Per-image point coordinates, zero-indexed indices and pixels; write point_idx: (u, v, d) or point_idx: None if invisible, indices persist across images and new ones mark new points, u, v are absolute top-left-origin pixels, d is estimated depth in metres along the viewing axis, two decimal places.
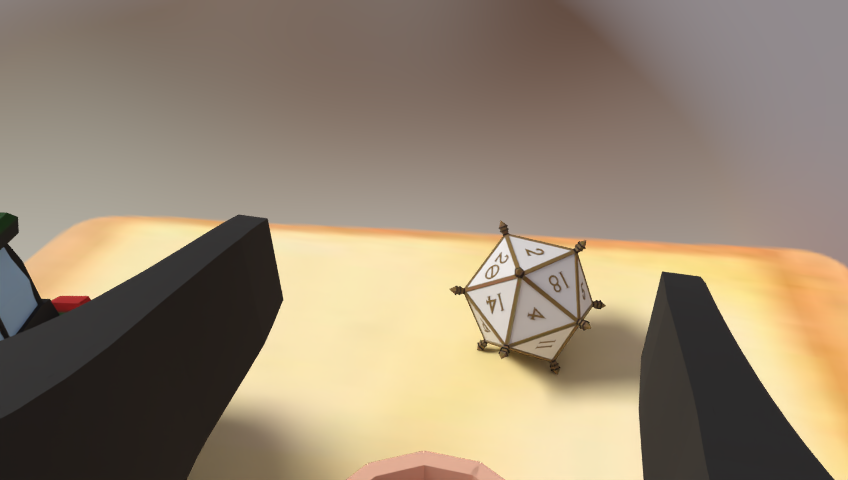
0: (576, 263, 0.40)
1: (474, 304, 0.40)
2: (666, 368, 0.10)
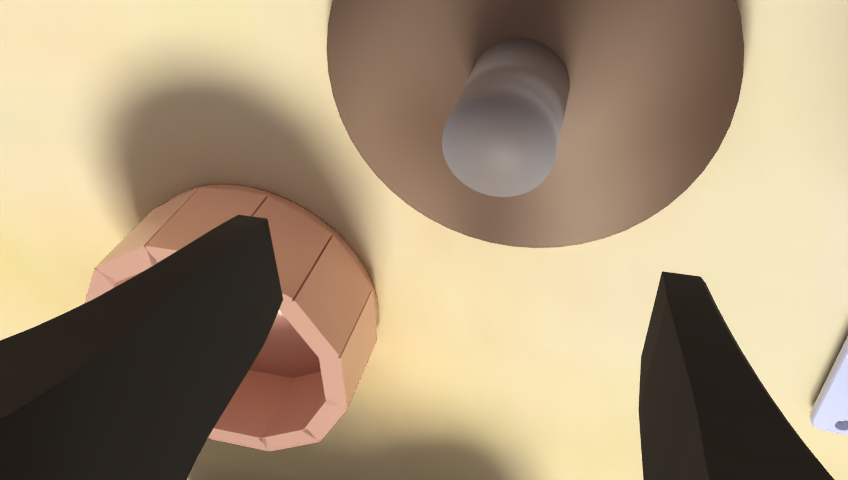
0: None
1: None
2: (667, 368, 0.10)
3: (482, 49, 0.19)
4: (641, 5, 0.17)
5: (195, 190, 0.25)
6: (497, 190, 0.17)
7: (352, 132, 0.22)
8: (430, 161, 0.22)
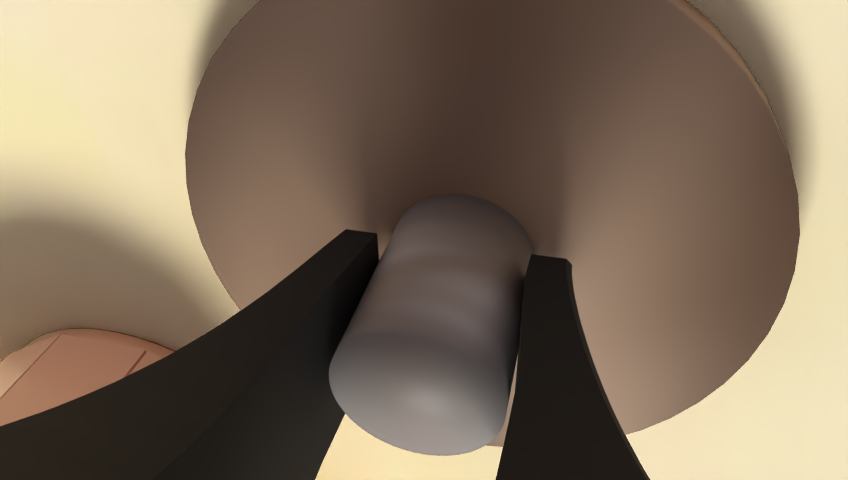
0: None
1: None
2: (519, 344, 0.10)
3: (401, 210, 0.13)
4: (629, 143, 0.11)
5: (54, 339, 0.19)
6: (426, 447, 0.11)
7: None
8: None
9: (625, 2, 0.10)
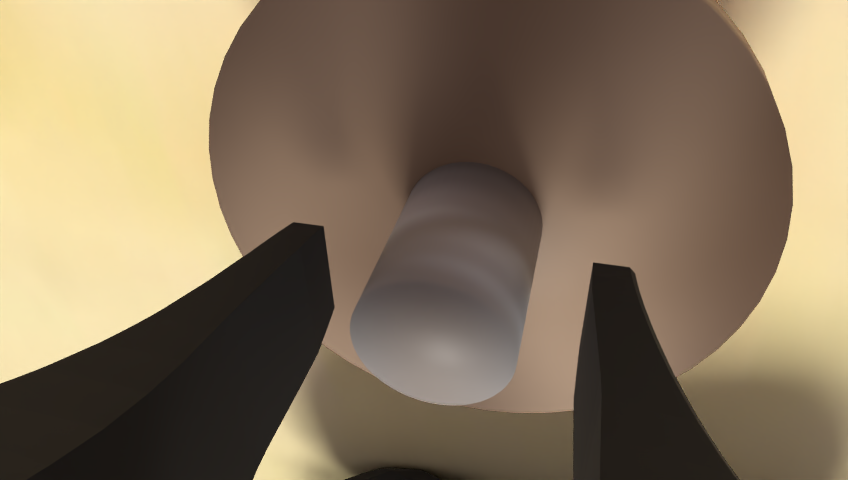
0: None
1: None
2: (588, 356, 0.10)
3: (417, 177, 0.14)
4: (636, 115, 0.12)
5: None
6: (439, 397, 0.12)
7: None
8: None
9: None
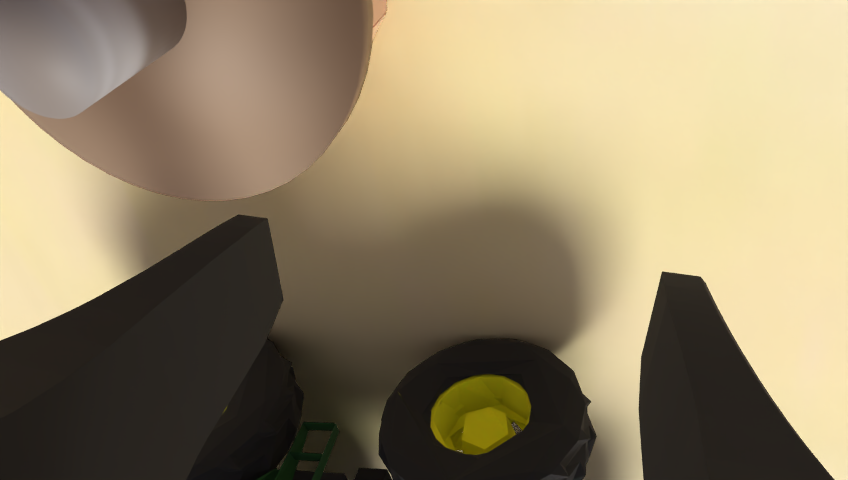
0: None
1: None
2: (666, 367, 0.10)
3: None
4: None
5: None
6: (56, 110, 0.14)
7: None
8: None
9: None
